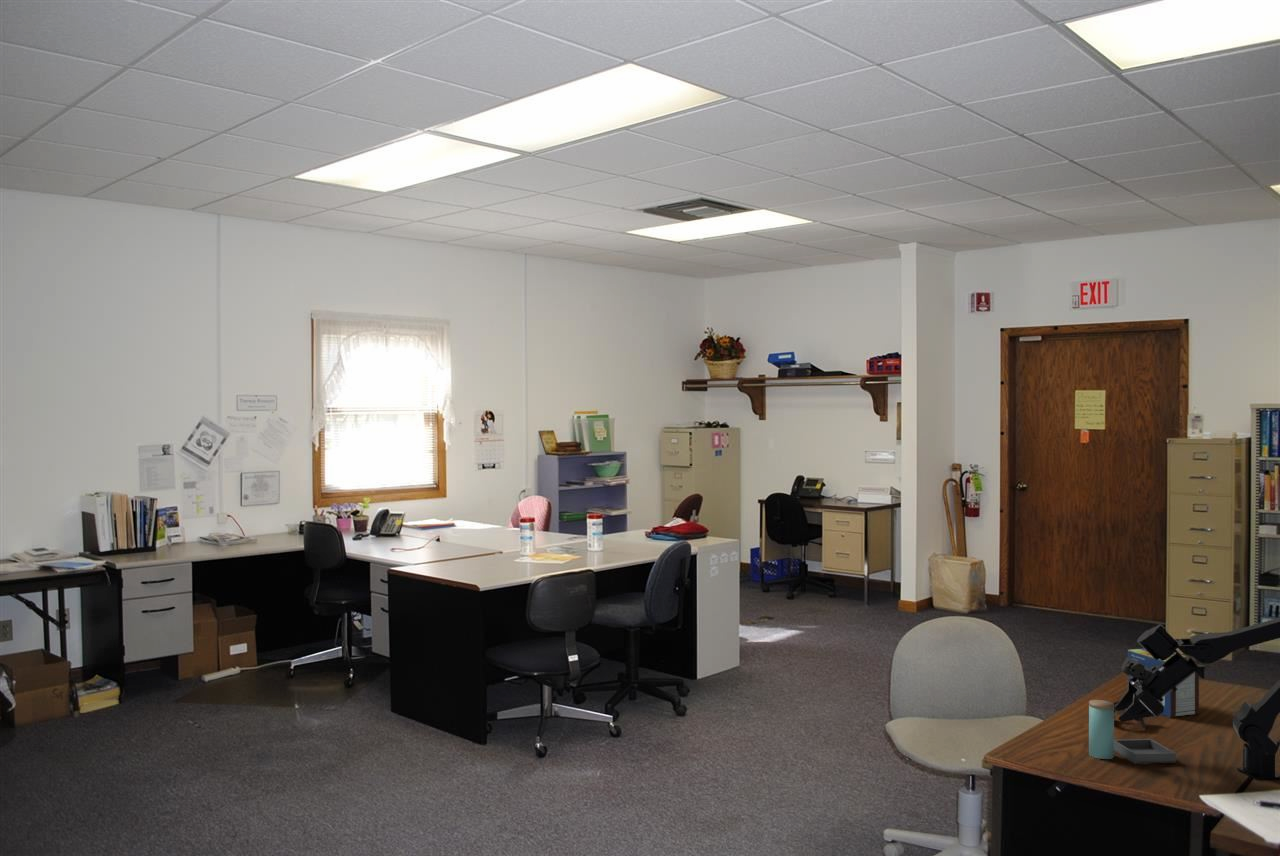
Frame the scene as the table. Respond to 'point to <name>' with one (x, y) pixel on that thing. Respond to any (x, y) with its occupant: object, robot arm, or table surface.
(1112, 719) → the canister
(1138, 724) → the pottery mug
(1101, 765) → the table surface
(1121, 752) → the tray
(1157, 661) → the protein box
